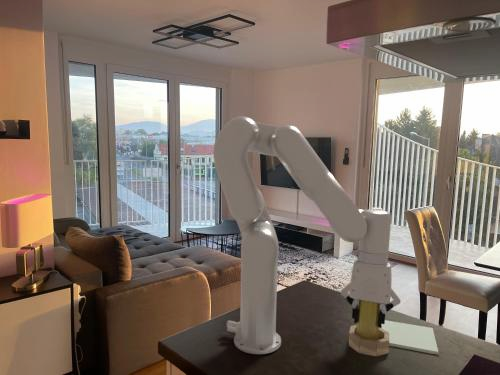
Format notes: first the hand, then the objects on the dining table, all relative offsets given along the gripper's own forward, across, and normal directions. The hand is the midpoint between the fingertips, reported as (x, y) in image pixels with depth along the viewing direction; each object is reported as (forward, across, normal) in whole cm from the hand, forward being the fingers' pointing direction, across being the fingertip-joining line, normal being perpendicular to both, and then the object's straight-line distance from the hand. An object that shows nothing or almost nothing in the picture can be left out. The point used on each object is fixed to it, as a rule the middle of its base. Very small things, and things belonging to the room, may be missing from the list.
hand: (367, 322), depth 99 cm
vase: (+5, 0, 0) cm, 5 cm away
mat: (+6, +11, +9) cm, 15 cm away
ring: (+6, +1, 0) cm, 6 cm away
